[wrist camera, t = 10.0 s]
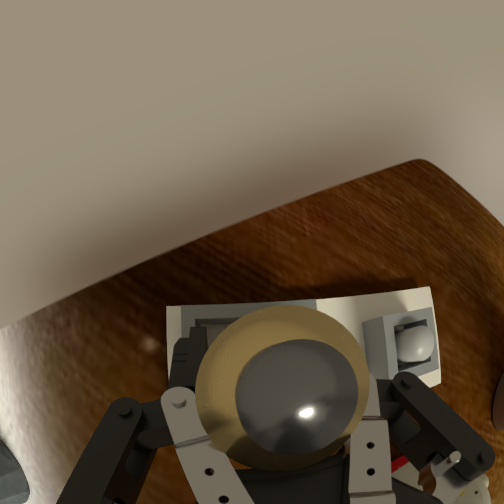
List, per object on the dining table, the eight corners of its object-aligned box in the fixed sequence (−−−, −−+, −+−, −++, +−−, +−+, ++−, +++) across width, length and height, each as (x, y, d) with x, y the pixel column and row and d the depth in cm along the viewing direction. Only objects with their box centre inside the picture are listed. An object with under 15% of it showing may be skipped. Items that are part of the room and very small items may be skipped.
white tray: (420, 290, 22) (458, 272, 17) (430, 382, 19) (472, 382, 13) (170, 309, 19) (151, 293, 14) (177, 426, 16) (160, 450, 11)
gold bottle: (286, 331, 17) (381, 287, 6) (292, 403, 15) (392, 460, 5) (210, 335, 16) (184, 299, 6) (215, 410, 14) (200, 496, 4)
